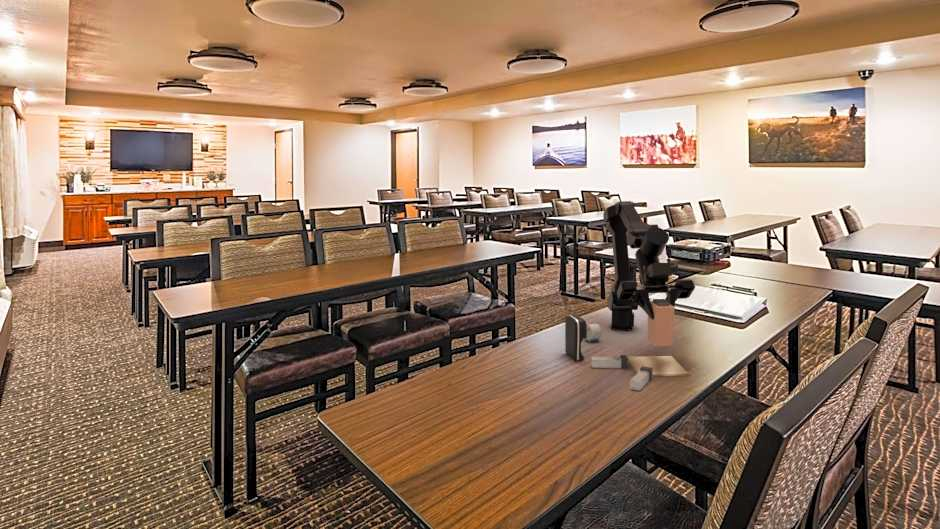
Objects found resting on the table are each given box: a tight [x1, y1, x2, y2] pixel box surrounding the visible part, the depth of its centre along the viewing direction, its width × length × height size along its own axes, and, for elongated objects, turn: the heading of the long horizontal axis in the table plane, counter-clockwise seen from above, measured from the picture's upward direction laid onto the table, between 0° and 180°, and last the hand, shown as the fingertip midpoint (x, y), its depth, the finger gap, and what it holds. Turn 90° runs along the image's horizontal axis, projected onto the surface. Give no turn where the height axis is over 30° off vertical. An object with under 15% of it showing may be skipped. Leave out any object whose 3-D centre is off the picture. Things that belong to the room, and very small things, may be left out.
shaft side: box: [590, 354, 629, 370], centre depth 137 cm, size 9×3×3 cm, turn 84°
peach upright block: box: [646, 298, 676, 347], centre depth 134 cm, size 6×4×11 cm
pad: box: [627, 355, 690, 377], centre depth 136 cm, size 12×12×1 cm
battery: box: [564, 314, 588, 361], centre depth 144 cm, size 7×4×11 cm, turn 14°
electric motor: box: [585, 323, 602, 343], centre depth 157 cm, size 7×5×5 cm
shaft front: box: [629, 366, 653, 392], centre depth 127 cm, size 9×3×3 cm, turn 144°
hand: (662, 318), depth 133 cm, fingers closed on peach upright block, 4 cm apart
